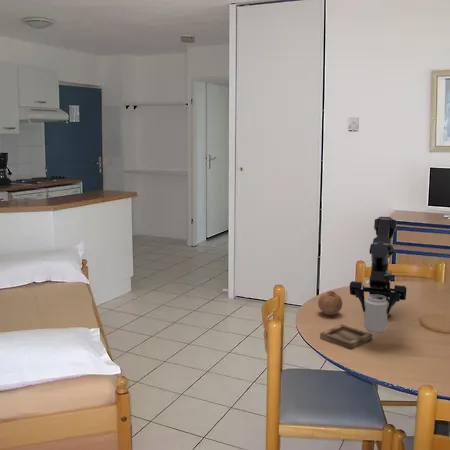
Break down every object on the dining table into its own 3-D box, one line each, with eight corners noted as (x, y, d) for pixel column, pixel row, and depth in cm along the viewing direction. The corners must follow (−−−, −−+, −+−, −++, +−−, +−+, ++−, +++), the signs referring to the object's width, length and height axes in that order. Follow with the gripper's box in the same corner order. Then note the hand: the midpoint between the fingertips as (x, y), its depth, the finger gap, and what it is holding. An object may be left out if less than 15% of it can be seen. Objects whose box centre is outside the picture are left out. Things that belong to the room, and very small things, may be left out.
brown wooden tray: (341, 329, 203) (341, 324, 202) (372, 339, 193) (372, 334, 193) (320, 338, 194) (320, 333, 194) (350, 349, 185) (351, 343, 184)
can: (386, 335, 181) (388, 301, 179) (363, 332, 183) (365, 299, 181) (386, 327, 189) (388, 293, 186) (364, 324, 191) (365, 292, 188)
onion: (346, 317, 215) (347, 293, 214) (325, 320, 212) (326, 295, 210) (333, 309, 224) (334, 286, 222) (313, 312, 221) (314, 288, 219)
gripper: (351, 258, 188) (346, 299, 180) (408, 263, 182) (405, 305, 174) (352, 274, 197) (348, 313, 189) (406, 279, 191) (404, 319, 183)
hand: (375, 312), depth 183 cm, fingers closed on can, 7 cm apart
